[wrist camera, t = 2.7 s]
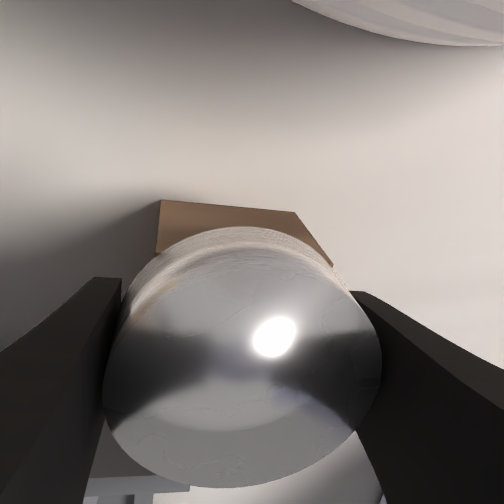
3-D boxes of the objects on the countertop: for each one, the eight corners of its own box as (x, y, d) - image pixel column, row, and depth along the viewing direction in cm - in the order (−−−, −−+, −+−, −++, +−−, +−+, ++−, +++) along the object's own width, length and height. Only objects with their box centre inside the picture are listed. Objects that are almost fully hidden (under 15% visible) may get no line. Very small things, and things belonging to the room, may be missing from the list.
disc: (371, 236, 9) (418, 279, 8) (318, 416, 12) (344, 482, 10) (119, 215, 8) (102, 259, 6) (114, 419, 10) (101, 494, 9)
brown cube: (294, 212, 13) (333, 264, 9) (272, 321, 14) (299, 396, 11) (161, 199, 12) (155, 252, 9) (153, 317, 13) (146, 396, 10)
